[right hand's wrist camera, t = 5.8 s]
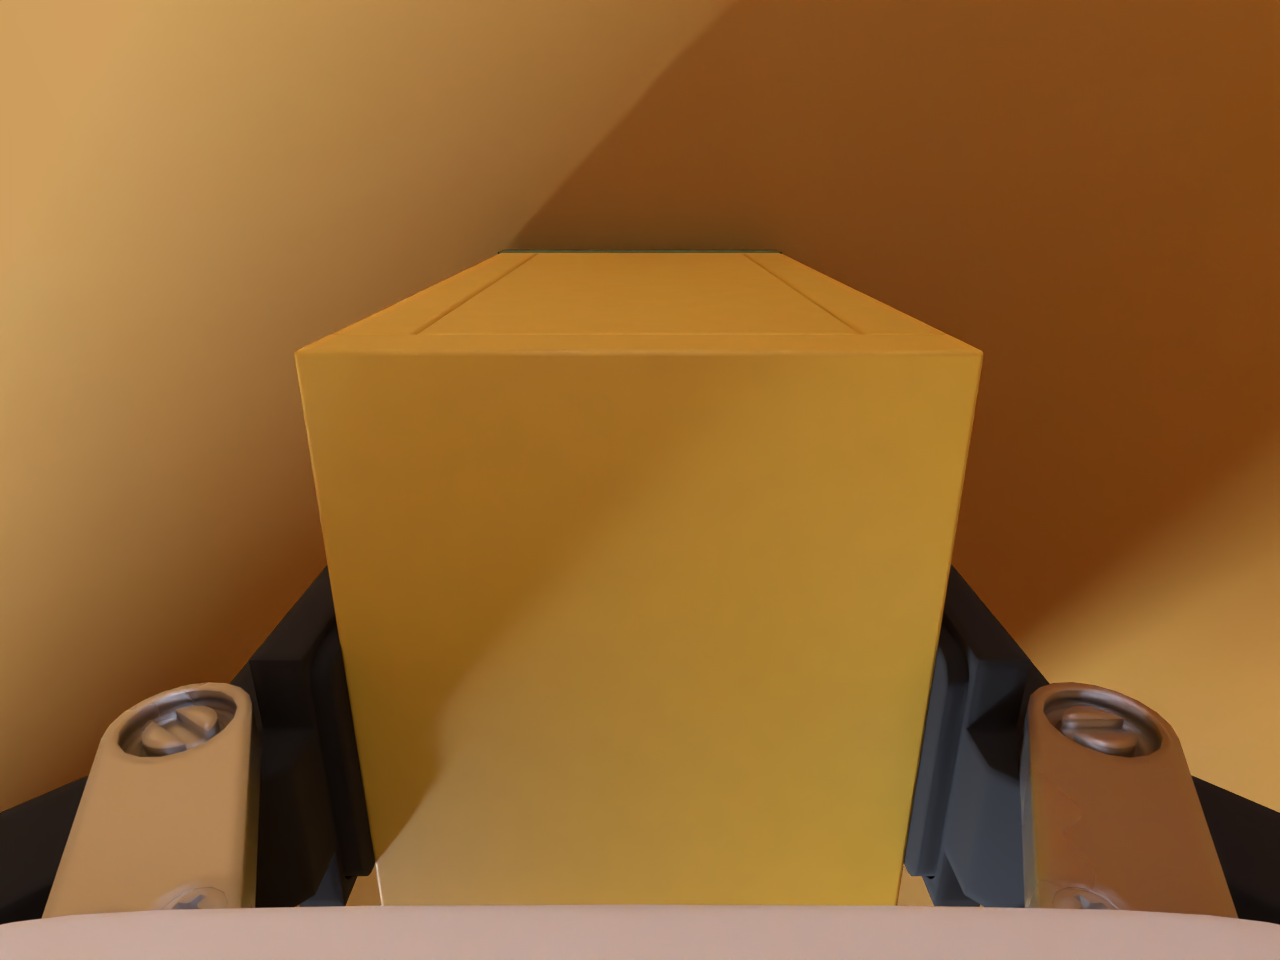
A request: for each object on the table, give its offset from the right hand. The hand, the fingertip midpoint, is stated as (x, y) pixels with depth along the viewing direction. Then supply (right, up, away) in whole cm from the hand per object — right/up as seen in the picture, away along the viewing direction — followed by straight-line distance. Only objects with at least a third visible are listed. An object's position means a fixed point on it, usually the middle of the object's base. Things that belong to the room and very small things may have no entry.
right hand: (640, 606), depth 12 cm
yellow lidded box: (0, -1, +9) cm, 9 cm away
